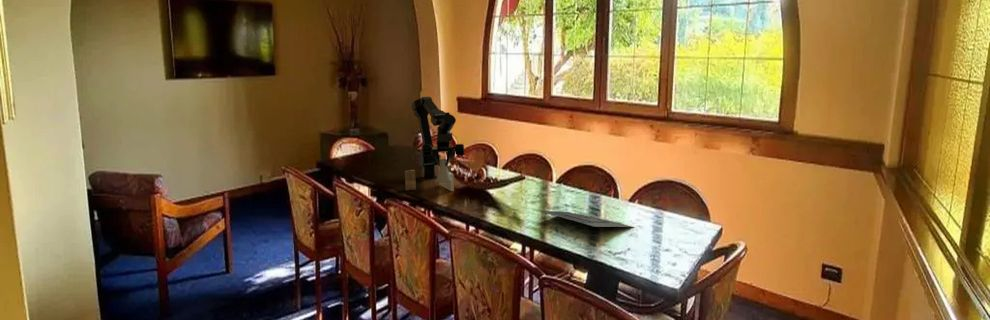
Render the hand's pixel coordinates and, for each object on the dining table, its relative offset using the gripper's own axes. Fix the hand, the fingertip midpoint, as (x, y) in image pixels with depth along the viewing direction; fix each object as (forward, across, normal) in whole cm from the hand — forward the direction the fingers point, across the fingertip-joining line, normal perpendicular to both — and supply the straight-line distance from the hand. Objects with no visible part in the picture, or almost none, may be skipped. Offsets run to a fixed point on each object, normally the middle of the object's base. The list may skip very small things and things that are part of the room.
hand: (443, 165), depth 274 cm
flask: (+5, 0, +6) cm, 8 cm away
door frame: (0, -7, +19) cm, 20 cm away
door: (+3, +1, +16) cm, 16 cm away
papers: (+42, +55, -23) cm, 73 cm away
